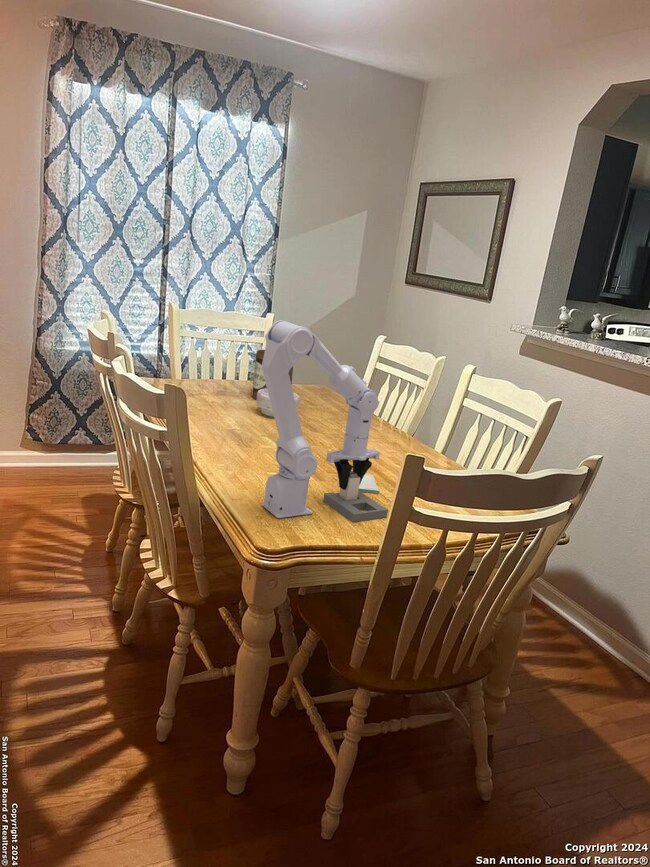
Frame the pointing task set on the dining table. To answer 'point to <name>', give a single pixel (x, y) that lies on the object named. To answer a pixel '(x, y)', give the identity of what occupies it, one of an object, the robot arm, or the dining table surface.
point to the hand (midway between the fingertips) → (348, 487)
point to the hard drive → (368, 485)
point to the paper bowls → (265, 403)
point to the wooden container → (261, 374)
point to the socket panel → (356, 507)
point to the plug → (351, 487)
